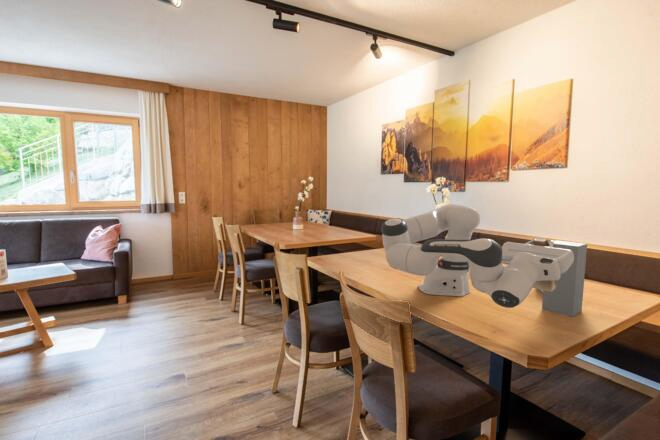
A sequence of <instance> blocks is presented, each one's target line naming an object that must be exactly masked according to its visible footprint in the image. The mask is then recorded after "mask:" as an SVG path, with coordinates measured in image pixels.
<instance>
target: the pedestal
mask: <svg viewBox="0 0 660 440" xmlns="http://www.w3.org/2000/svg"><path fill="white" fill-rule="evenodd" d="M553 243H554V245H553V248H561V249H569V250H571V251H572V252H573V255H574V261H573V263H572V265H571V266H570V267H569V269H568V270H567V271H566V272H564V273H562V274H560V279H559V280H556V288H555V289H554V290H553V291H552V292H549V291H545V290H543V292H542V303H541V304H542V306H541V309H542V310H543V311H547V312H551V313H556V314H560V315H563V316H566V317H571V318H574V317H575V316H577V315H578V314H580V313H581V312H582V310H583V300H584V299H583V298H584V287H585V275H586V264H587V263H586V262H587V251H588V243H585V242H575V241H567V240H565V241H564V240H557V239H556V240H553Z"/></svg>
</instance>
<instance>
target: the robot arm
mask: <svg viewBox="0 0 660 440" xmlns="http://www.w3.org/2000/svg"><path fill="white" fill-rule="evenodd" d="M480 222H481V216H480V213H479V211H478V210H477V209H475V208H473V207H471V206H470V205H463V204H455V203H454V204H451V203H449V204H444V205H442V206H440V207H437V208H434V209H433V210H430V211H428V212H424V213H421V214H418V215H414V216H410V217H408V218H405V219H402V218H399V217H393V218H388V219H386V220H385V221H384V222H383V223H382V225H381V228H380V231H381V234H382V235H381V236H382V245H383V248H384V254H385V258H386V262H387V263H388V266H390V267H391V268H392V269H395V270H399V271H401V272H403V273H407V274H412V275H415V276H420V277H421V276H422V277H424V278H423V283H419V285H418V290H420V291H421V292H422V293H424V294H426V295H431V296H432V295H433V296H434V295H435V296H447V297H449V296H451V297H465V296H466V295H468V294H470V293H471V291H472V290H471V288H470V282H469V278H470V281H471V285H472V287H473V288H474V290H475V289H476V290H477V291H479V292H481V293H485V294H487V295H488V296H489V297H490V298H491V300H492V301H493V302H494V303H495V304H497V305H498V306H500V307H503V308H506V309H507V308H508V309H510V308H511V309H513V308H515V307H518V306H519V305H520V304H522V303H523V302H524V301H525V299H526V298H527V297H528V296H529V294H530V293H531V291H532V289H533V288H532V287H533V284H534V283H536V281H545V280H559V279H560V274H562V273H564V272H566V271H567V270H568V269H569V267H570V266H571V265H572V263H573V261H574V255H573V252H572V251H571V250H569V249H561V248H553V245H554V243H553V241H554V240H552V239H551V240H550V239H548V240H547V242H546V244H547V247H545V246H537V245H534V240H535V239H536V238H535V237H534V238H532V239H531V240H529V241H527V242H525V243H519V242H513V241H506V242H504V243H503V245H502V246H501V245H500V244H499V243H498V242H496V241H495V240H494V239H491V238H488V237H479V238H472V235H473V233H474V230H476V228H477V227H479V225H480ZM445 231H447V234H446V236H445V239H444V238H443V239H431V238H434V237H437V236H438V235H439V234H441V233H442V232H443V233H444V232H445ZM427 239H429V240H427ZM424 240H426V241H425V242H423V243H422V244H414V243H417V242H422V241H424ZM440 257H441V258H440ZM503 264H507V265H506V266H505V265H503Z"/></svg>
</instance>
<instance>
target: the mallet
mask: <svg viewBox="0 0 660 440" xmlns="http://www.w3.org/2000/svg"><path fill="white" fill-rule="evenodd" d="M547 240H549V239H548V238H540V237H537V238H535V240H534V245H537V246H545V247H547V244H546V242H547ZM533 288H534V289H537V290H538V289H540V290H545V291H549V292H552V291H553V290H554V289H555V288H556V280H545V281H536V283H534V284H533V287H532V289H533ZM540 290H539V291H540Z"/></svg>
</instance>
